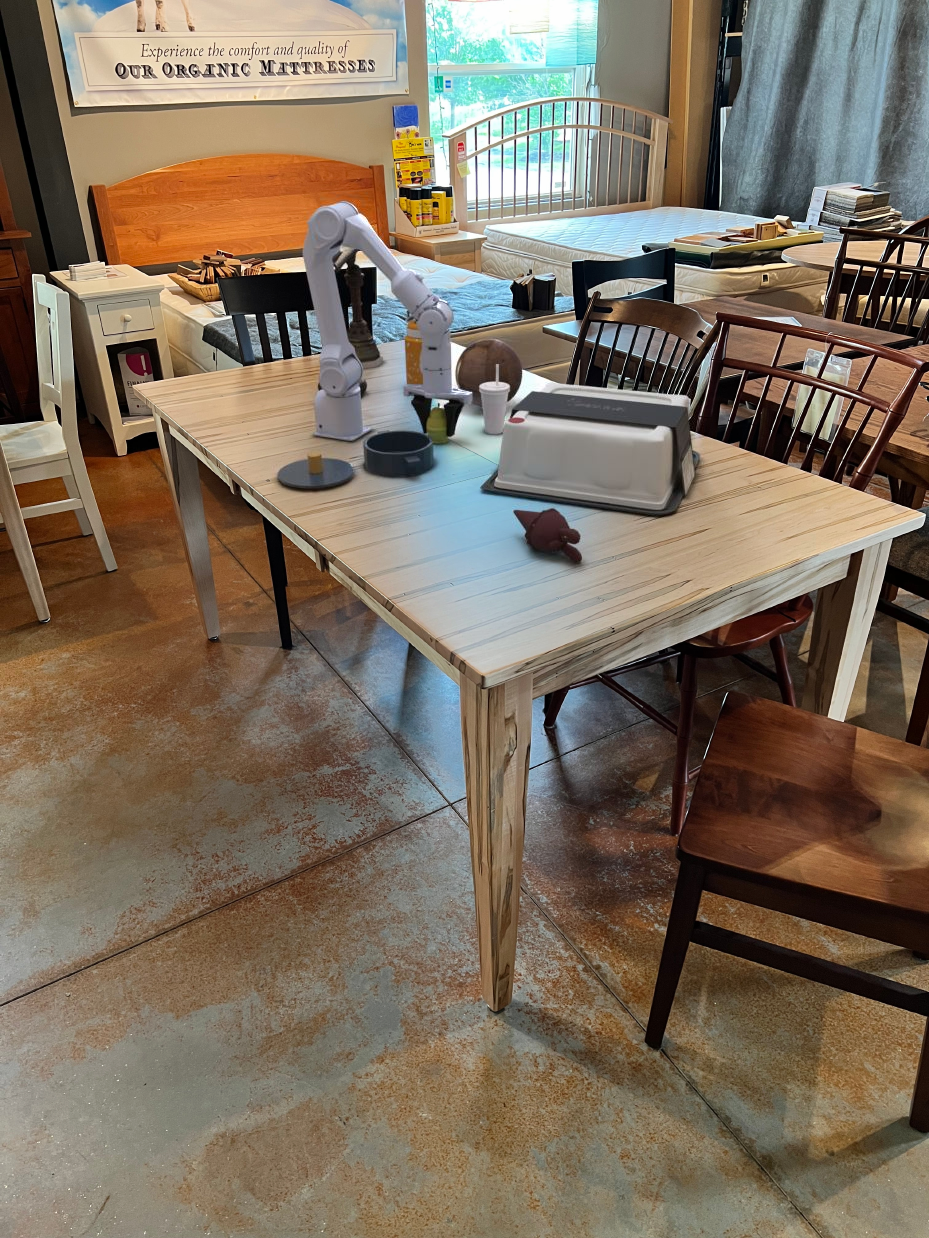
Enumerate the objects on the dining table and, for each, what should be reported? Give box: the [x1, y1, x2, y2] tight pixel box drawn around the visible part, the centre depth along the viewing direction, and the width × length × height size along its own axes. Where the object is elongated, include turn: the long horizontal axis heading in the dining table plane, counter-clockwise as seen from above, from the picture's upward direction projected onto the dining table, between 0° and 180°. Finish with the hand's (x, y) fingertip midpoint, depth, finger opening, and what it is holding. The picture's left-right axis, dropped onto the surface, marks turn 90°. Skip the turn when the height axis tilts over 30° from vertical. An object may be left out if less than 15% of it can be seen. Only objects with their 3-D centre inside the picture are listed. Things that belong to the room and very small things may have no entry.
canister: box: [404, 309, 423, 385], centre depth 205 cm, size 9×11×20 cm
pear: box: [426, 402, 449, 445], centre depth 177 cm, size 5×5×8 cm
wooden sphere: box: [454, 338, 523, 409], centre depth 194 cm, size 15×15×15 cm
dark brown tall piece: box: [332, 244, 384, 370], centre depth 221 cm, size 17×13×35 cm
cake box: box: [479, 382, 701, 516], centre depth 159 cm, size 35×33×12 cm
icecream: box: [512, 507, 583, 564], centre depth 133 cm, size 7×7×15 cm
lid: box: [277, 451, 355, 489], centre depth 161 cm, size 14×14×4 cm
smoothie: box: [479, 364, 510, 435], centre depth 180 cm, size 6×6×14 cm
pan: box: [362, 429, 434, 478], centre depth 166 cm, size 13×19×4 cm
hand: (438, 433), depth 178 cm, fingers closed on pear, 5 cm apart
